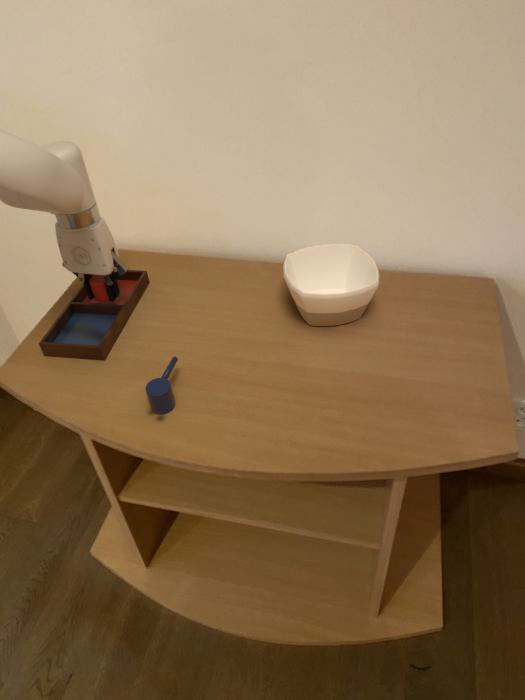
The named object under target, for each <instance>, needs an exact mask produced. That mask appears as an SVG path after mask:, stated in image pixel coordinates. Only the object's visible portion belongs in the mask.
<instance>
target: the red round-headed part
mask: <svg viewBox="0 0 525 700" xmlns="http://www.w3.org/2000/svg"><path fill="white" fill-rule="evenodd" d="M113 266H114V265H113ZM114 268H116V267H115V266H114ZM89 283H90V285H91V288H92V291H93V294H94V297H95V300H96V301H97V302H108V301H110V300H109V297H108V294H107V291H106V288H105V285H106V284H107V283H106V281H105V279H104V277H103V275H93V276H92V277H91V278H90V279H89Z"/></svg>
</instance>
